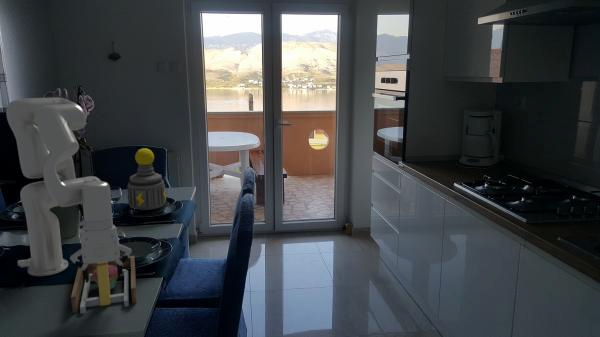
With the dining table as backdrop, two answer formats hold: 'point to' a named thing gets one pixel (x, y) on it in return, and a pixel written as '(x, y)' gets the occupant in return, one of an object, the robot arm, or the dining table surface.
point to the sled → (104, 289)
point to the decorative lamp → (146, 184)
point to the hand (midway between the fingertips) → (103, 278)
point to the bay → (91, 267)
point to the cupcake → (112, 276)
